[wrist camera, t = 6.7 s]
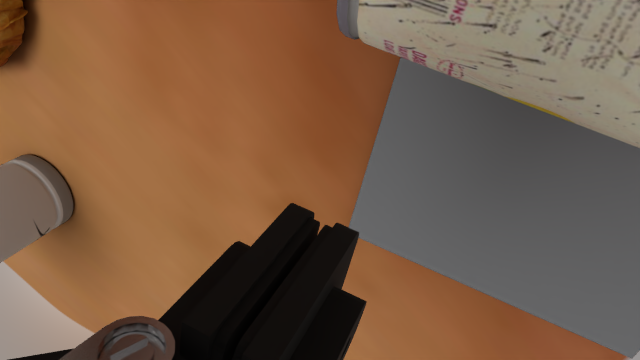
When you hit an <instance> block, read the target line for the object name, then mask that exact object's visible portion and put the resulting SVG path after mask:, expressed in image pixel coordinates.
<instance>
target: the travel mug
mask: <svg viewBox="0 0 640 360" xmlns="http://www.w3.org/2000/svg"><path fill="white" fill-rule="evenodd" d="M72 212H73V200H72V195H71V193H70V190H69V188H68V186H67V184H66V182H65V181H64V179H63V178H62V176H61V175H60V174H59V173H58V171H57V170H56V169H55V168H53V167H52V166H51V165H50V164H49V163H47V162H46V161H44V160H43V159H41V158H39V157H36V156H33V155H22V156H19V157H17V158H15V159H13V160H11V161H8V162H7V163H5V164H2V165H0V263H1V262H2V261H4V260H6V259H7V258H9V257H10V256H12V255H13V254H15V253H17V252H18V251H20V250H21V249H23V248H25V247H26V246H28V245H29V244H31V243H32V242H34V241H36V240H37V239H39V238H40V237H42V236H44V235H45V234H47V233H48V232H50V231H51V230H52V229H55V228H56V227H58V226H59V225H61V224H63V223H64V222H66V221H67V220H68V219H69V218H70V217H71V215H72Z"/></svg>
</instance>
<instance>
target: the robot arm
mask: <svg viewBox="0 0 640 360" xmlns="http://www.w3.org/2000/svg"><path fill="white" fill-rule="evenodd" d="M319 226H320V222H319V221H316V220H314V212H312V211H310V210H307V209H305V208H303V207H300V206H298V205H296V204H294V203H291V204H290V205H288V206H287V208H286V209H285V210H284V211H283V212H282V213H281V214H280V215H279V216H278V217H277V218H276V220H275V221H274V222H273V223H272V224H271V225H270V226H269V227H268V228H267V229H266V231H265V232H264V233H263V234H262V235H261V236H260V237H259V238H258V239H257V240H256V241H255V243H254V244H253V245H252V246H251V247H250V246H248V245H246V244H244V243H242V242H240V241H238V242H235V243H234V244H233V245H231V246H230V247H229V248H228V249H227V250H226V251H225V252H224V253H223V255H222V256H221V257H220V258H219V259H218V260H217V261H216V262H215V263H214V264H213V265H212V266H211V267H210V268H209V269H208V270H207V271H206V272H205V273H204V274H203V275H202V276H201V277H200V278H199V279H198V280H197V281H196V282H195V283H194V284H193V285H192V286H191V287H190V288H189V289H188V290H187V291H186V292H185V293H184V294H183V295H182V296H181V298H180V299H179V300H178V301H177V302H176V303H175V304H174V305H173V306H172V307H171V308H170V309H169V310H168V311H167V312H166V313H165V314H164V315H163V316H162V317H161V318H160V319H159V320H156V319H154V318H149V317H144V316H133V317H126V318H123V319H119V320H116V321H114V322H112V323H111V324H109V325H107V326H105V327H104V328H102V329H101V330H99V331H98V332H97V333H95V334H94V335H92V336H91V337H90V338H88V339H87V340H86V341H84V342H83V343H82V344H80V345H78V346H77V347H76V348H74V349H68V350H63V351H57V352H51V353H45V354H39V355H33V356H27V357H22V358H16V359H9V360H343V359H344V357H345V354H346V352H347V350H348V348H349V346H350V343H351V341H352V339H353V336H354V334H355V332H356V329H357V327H358V324H359V322H360V319H361V316H362V314H363V311H364V308H365V305H366V302H367V301H364V300H362V299H360V298H358V297H356V296H354V295H352V294H350V293H348V292H345V291H343V290H341V289H342V286H343V283H344V280H345V277H346V274H347V271H348V268H349V265H350V262H351V259H352V256H353V253H354V250H355V246H356V243H357V240H358V237H359V232H357V231H355V230H353V229H351V228H348V227H346V226H344V225H341V224H339V223H336V224H335V225H334V226H333V228H332V227H330V226H328V225H325V226H324V227H323V228H322V230H321V231H320V232H319V234H318V230H319ZM317 234H318V235H317Z"/></svg>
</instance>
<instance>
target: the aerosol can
mask: <svg viewBox="0 0 640 360" xmlns="http://www.w3.org/2000/svg"><path fill="white" fill-rule="evenodd" d="M337 18H338V24H339V29H340V31H341V32H342V33H343V34H344V35H345V36H347V37H349V38H352V39H358V38H360V39H361V40H362V41H363V42H364V43H365V44H368V45H370V46H373V47H376V48H378V49H381V50H383V51H386V52H389V53H391V54H394V55H397V56H399V57H402V58H404V59H407V60H410V61H412V62H415V63H418V64H420V65H423V66H425V67H428V68H431V69H433V70H436V71H439V72H441V73H444V74H446V75H449V76H452V77H454V78H457V79H460V80H462V81H465V82H467V83H470V84H473V85H475V86H478V87H481V88H483V89H486V90H488V91H491V92H494V93H496V94H499V95H501V96H504V97H507V98H509V99H512V100H515V101H517V102H520V103H522V104H525V105H528V106H530V107H533V108H536V109H538V110H541V111H543V112H546V113H549V114H551V115H554V116H557V117H559V118H562V119H564V120H567V121H570V122H572V123H575V124H578V125H580V126H583V127H585V128H588V129H591V130H593V131H596V132H599V133H601V134H604V135H606V136H609V137H612V138H614V139H617V140H620V141H622V142H625V143H627V144H630V145H633V146H635V147H638V148H640V0H337Z"/></svg>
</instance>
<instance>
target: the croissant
mask: <svg viewBox="0 0 640 360" xmlns="http://www.w3.org/2000/svg"><path fill="white" fill-rule="evenodd" d="M27 13H28V11H27V10H25V9H24V8H23V1H22V0H0V67H1V66H3V65H4V64H5V63H7V61H8V60H9V59H8V57H9V56H10V55H11V54H12V53H13V52H14V51H15V50H16V49H17V48H18V47H19V46H20V44H21V43H22V34H23V33H24V18H23V17H24V16H25V15H26V14H27Z"/></svg>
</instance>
